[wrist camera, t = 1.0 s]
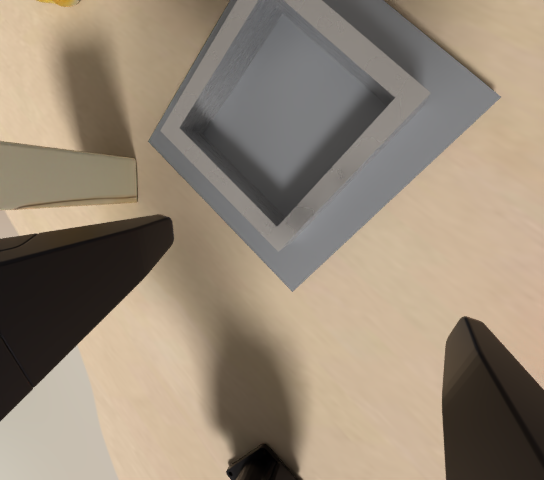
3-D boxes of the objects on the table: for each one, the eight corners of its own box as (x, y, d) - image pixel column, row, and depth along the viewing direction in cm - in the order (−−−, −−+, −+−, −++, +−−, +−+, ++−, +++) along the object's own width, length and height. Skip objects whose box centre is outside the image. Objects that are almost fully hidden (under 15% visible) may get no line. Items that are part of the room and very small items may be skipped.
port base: (295, 287, 24) (292, 291, 23) (156, 142, 26) (148, 141, 25) (494, 101, 17) (501, 96, 16) (284, -73, 19) (279, -85, 19)
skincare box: (93, 198, 30) (-76, 207, 19) (89, 154, 29) (-91, 136, 18) (140, 202, 28) (-19, 215, 17) (138, 155, 27) (-32, 136, 16)
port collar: (290, 243, 22) (278, 251, 20) (185, 136, 24) (160, 130, 21) (422, 107, 18) (430, 92, 15) (282, -15, 19) (265, -48, 16)
